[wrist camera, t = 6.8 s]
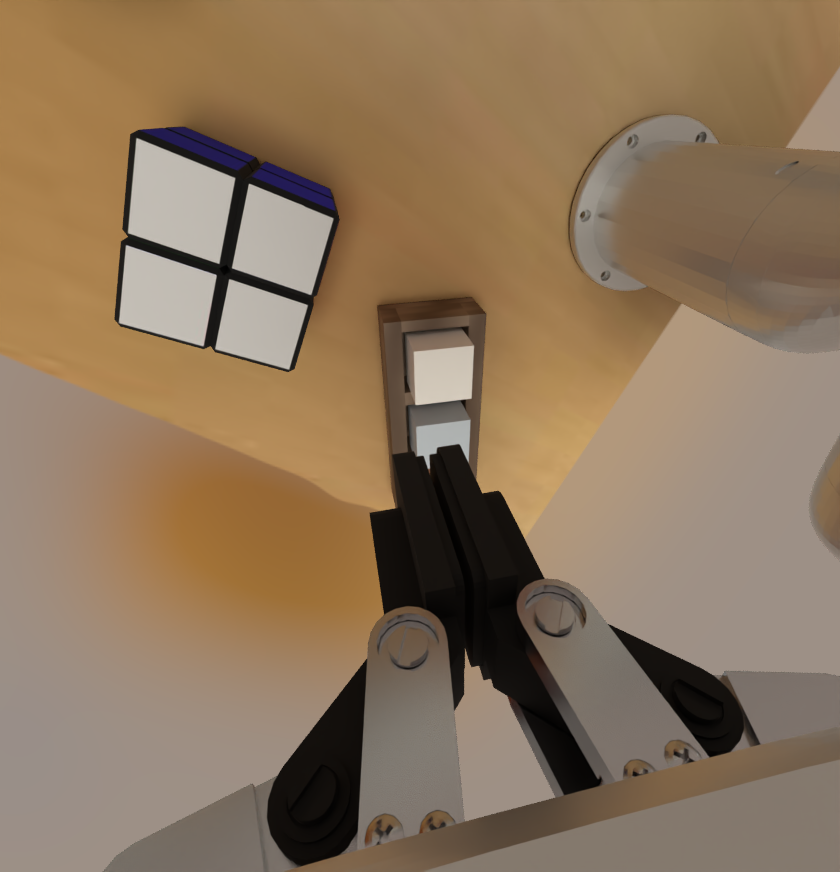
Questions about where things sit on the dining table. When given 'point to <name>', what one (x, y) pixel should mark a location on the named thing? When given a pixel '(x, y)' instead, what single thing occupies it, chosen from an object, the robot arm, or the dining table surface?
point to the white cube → (439, 365)
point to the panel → (394, 364)
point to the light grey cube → (438, 427)
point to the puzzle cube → (220, 247)
